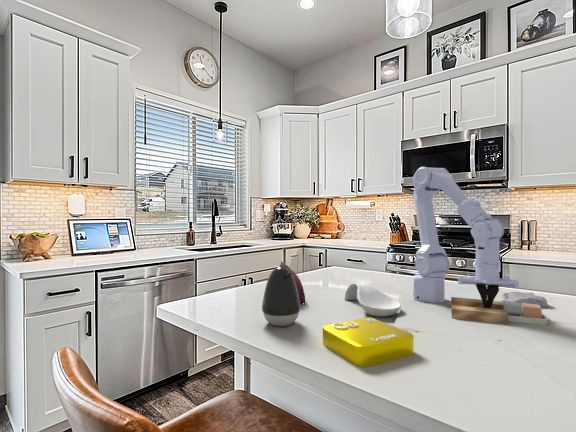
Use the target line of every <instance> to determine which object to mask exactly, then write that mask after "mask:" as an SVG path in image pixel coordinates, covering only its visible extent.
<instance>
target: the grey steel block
mask: <svg viewBox="0 0 576 432" xmlns="http://www.w3.org/2000/svg"><path fill="white" fill-rule="evenodd" d="M521 309H522V306H521V305H520V304H519V303H516V302H511V301H505V299H504V300H503V299H501V309H500V310H506V312H507V313H508V315H509V316H519V317H521Z"/></svg>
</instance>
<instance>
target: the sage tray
mask: <svg viewBox="0 0 576 432" xmlns="http://www.w3.org/2000/svg"><path fill="white" fill-rule="evenodd" d="M508 322H513V323H520V324H521V323H524V324H532V325H540V326H549V327H550V326H551V320H550V318H548V316H547V314H545V313H544V312H543V311H542V319H539V318H529V317H521V316H520V317H519V316H509V315H508Z"/></svg>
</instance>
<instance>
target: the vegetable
mask: <svg viewBox="0 0 576 432" xmlns="http://www.w3.org/2000/svg"><path fill="white" fill-rule="evenodd" d="M279 267H285V268H287V269H288V270H289V271H290V272H291V274H292V276H293V278H294V281H295V284H296V287H297V291H298V295H299V301H300V304H302V305H304V304H303V303H305V304H306V294H305V291H304V287H303V283H302V281H301V279H300V278H299V276H298V275H297V274H296V272H295V271H294V270H293V269H291V267H289V266H288V264H286V263H285V262H283V261H281V262H280V264H279Z"/></svg>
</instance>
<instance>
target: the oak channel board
mask: <svg viewBox="0 0 576 432" xmlns="http://www.w3.org/2000/svg"><path fill="white" fill-rule="evenodd" d="M450 299H451V300H450V303H451V304H450V309H451V311H450V313H451V314H450V315H451V319H458V320H467V321H477V322H485V323H491V324H493V323H494V324H495V323H496V324H501V325H502V324H503V325H509V321H508V313H507V312H506V310H500V309H501V302H502V300H501V301H499V300H494V301H493V303H492V306H491V309H488V308H484V307H483V302H482V299H481V298H480V299H477V298H468V297H467V298H466V297H455V296H454V297H453V296H451V298H450Z"/></svg>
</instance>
